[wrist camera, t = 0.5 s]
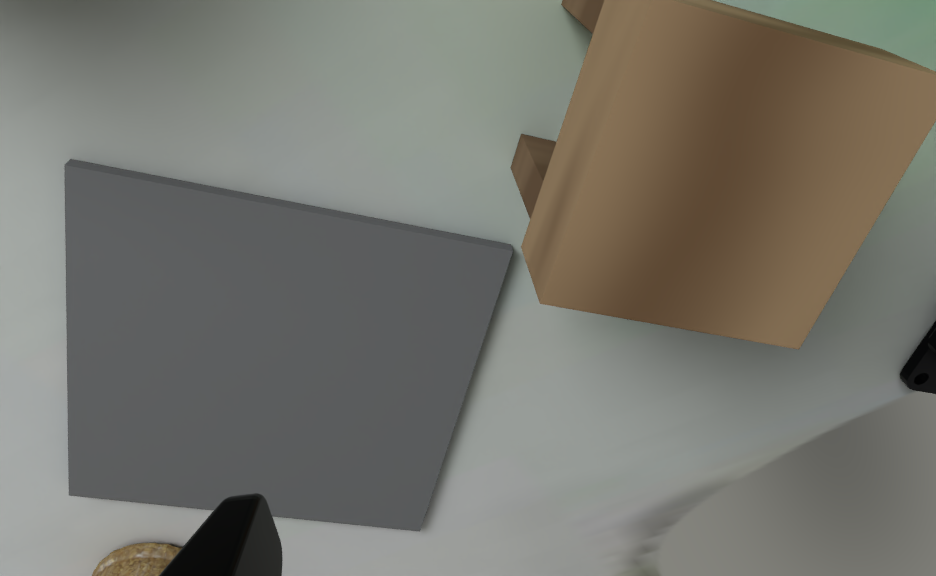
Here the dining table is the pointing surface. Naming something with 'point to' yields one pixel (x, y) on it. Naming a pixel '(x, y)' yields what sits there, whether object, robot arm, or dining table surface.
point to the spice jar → (137, 560)
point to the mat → (264, 349)
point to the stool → (716, 167)
